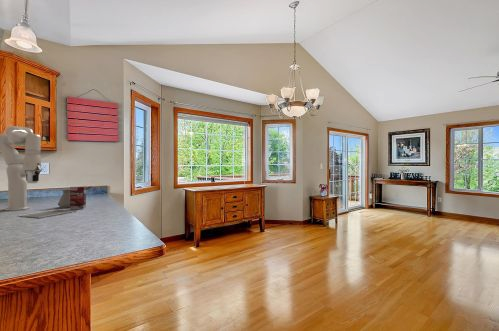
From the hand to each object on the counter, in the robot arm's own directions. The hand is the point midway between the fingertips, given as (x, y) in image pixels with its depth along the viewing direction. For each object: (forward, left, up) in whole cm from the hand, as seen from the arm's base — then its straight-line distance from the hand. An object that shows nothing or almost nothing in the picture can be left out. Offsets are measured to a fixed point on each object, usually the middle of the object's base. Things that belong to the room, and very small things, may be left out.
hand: (32, 180), depth 159 cm
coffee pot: (+3, +27, -21) cm, 34 cm away
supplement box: (+14, +20, -21) cm, 32 cm away
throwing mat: (+15, 0, -21) cm, 26 cm away
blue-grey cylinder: (0, 0, -2) cm, 2 cm away
